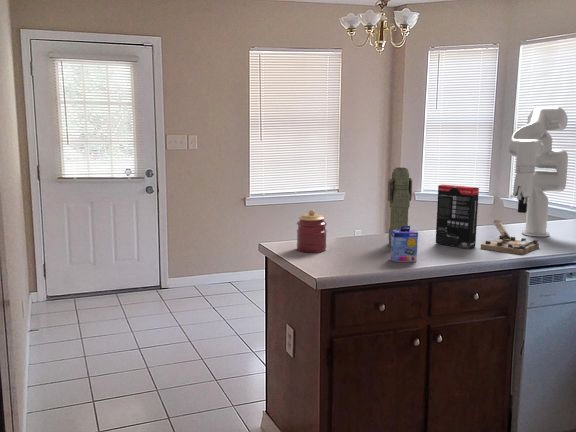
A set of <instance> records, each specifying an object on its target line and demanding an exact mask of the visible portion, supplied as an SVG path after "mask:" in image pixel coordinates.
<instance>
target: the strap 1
mask: <svg viewBox="0 0 576 432" xmlns="http://www.w3.org/2000/svg"><path fill="white" fill-rule="evenodd" d="M493 224H494V227H496V229H497V231H498V232H499V233H500V235H502V237H503V238H504V239H508V240H511V237H512V236H510V235H509V233H508V231H507V229H506V228H505V227H504V225H503V223H502V220H496V219H495V220H493Z"/></svg>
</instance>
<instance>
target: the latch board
mask: <svg viewBox="0 0 576 432" xmlns="http://www.w3.org/2000/svg"><path fill="white" fill-rule="evenodd" d="M510 237H511V240H508V239H504V238H503V237H502V235H501V234H500V235H499V237H498V238H494V239H492V240H486V241H485V242H483V243H481V244H480V249H481V250H488V251H493V250H495V252H500V251H501V253H508V254H514V255H520V256H523V255H525V254H527V253H529V252H531V251H533V250H534V251H535V250H536V249H538V248H539V247H540V242H539V240H538V239H533V240H532V241H533V243H531V244H528V245H525V246H520V247H512V245H513V243H519V242H522V241H525V240H527V238H524V237H522V238H521V240H518V239H516V237H515V236H510Z"/></svg>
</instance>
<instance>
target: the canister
mask: <svg viewBox="0 0 576 432" xmlns="http://www.w3.org/2000/svg"><path fill="white" fill-rule="evenodd" d="M298 219H299V221H297V222H296V225H297V229H296V248H297V249H298V250H297V251H299V252H303V253H311V252H313V253H322V252H325V251H326V249H327V232H328V231H327V229H326V228H327V227H326V226H327V223H328V222H326V221H325V217H324V216H323V215H322V214H319V213H316V212H315V210H314V209H310V210H309V211H308V213H304V214H302V215H300V216H299V217H298Z"/></svg>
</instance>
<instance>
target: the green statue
mask: <svg viewBox="0 0 576 432" xmlns="http://www.w3.org/2000/svg"><path fill="white" fill-rule="evenodd" d="M412 196H413V179H412V177H410V172H409V169H408V168H406V167H395V168H393V171H392V173H391V178H390V179H388V182H387V201H388V202H389V208H390V214H389V215H390V217H389V228H388V245H389V246H390V245H391V230H401V227H402V226H409V209H410V204H411V203H410V202H411V201H412ZM402 229H408V228H407V227H404V228H402Z"/></svg>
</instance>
